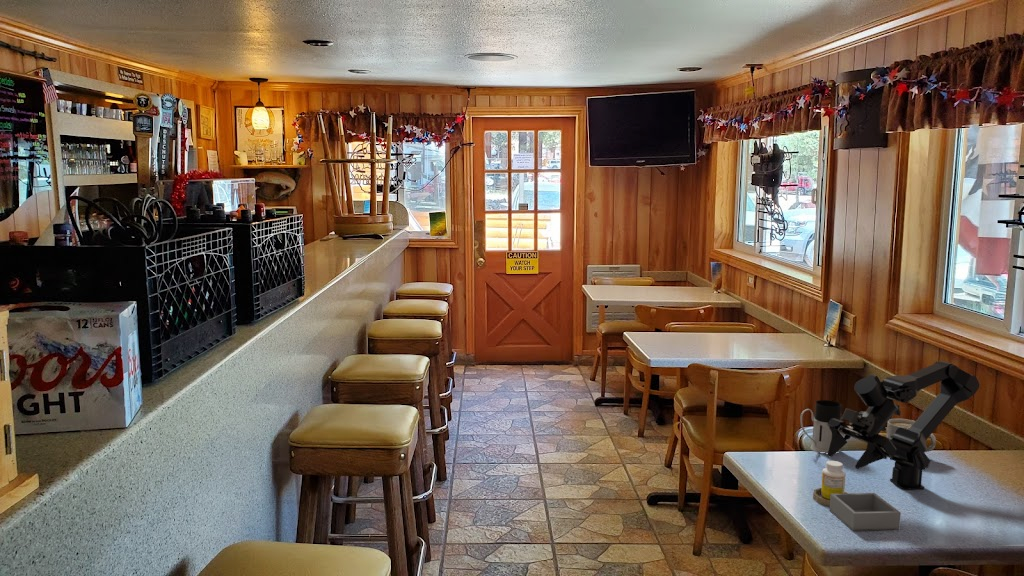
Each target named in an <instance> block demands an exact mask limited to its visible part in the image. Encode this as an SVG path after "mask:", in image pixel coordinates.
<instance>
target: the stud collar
mask: <svg viewBox="0 0 1024 576" xmlns="http://www.w3.org/2000/svg"><path fill="white" fill-rule="evenodd" d="M821 489H822V487H818V488H816V489H814V490H813V494H812V499H813V500H814V501H815V502H816V503H818V504H820V505H823V506H825V507H829V508H830V500H827V499H824V498H822V497H821ZM846 493H848V492H846V491H844V494H846Z"/></svg>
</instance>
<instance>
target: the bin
mask: <svg viewBox="0 0 1024 576" xmlns="http://www.w3.org/2000/svg"><path fill="white" fill-rule="evenodd" d="M829 512H830V513H832V514H833V515H834V516H835V517H836V518H837V519H838V520H839V521H841V522H842V523H843V524H844V525H845V526H846V527H847V528H849V530H850V531H852V532H879V531H880V532H881V531H883V532H884V531H885V532H886V531H900V527H901V526H900V525H901V524H900V523H901V514H902V513H901V511H899V510H898V509H897V508H896V507H894V506H893V505H891V504H890V503H889V502H887V501H886V500H885V499H883V498H882V497H881V496H880V495H878V494H877V493H876V492H865V493H864V492H861V493H860V492H859V493H858V492H857V493H855V492H854V493H853V492H851V493H848V492H847V493H846V494H831V496H830V507H829Z"/></svg>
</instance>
